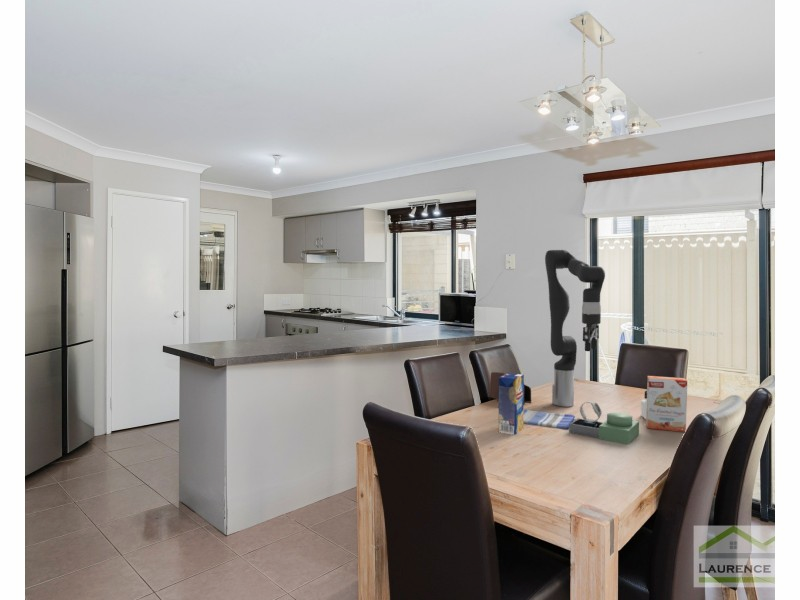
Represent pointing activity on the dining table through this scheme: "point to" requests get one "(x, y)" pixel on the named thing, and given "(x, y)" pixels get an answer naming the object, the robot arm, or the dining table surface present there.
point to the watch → (596, 409)
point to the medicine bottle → (644, 406)
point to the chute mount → (583, 428)
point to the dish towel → (547, 419)
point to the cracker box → (666, 403)
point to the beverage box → (511, 403)
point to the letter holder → (495, 388)
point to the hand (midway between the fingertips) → (590, 350)
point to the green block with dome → (619, 428)
